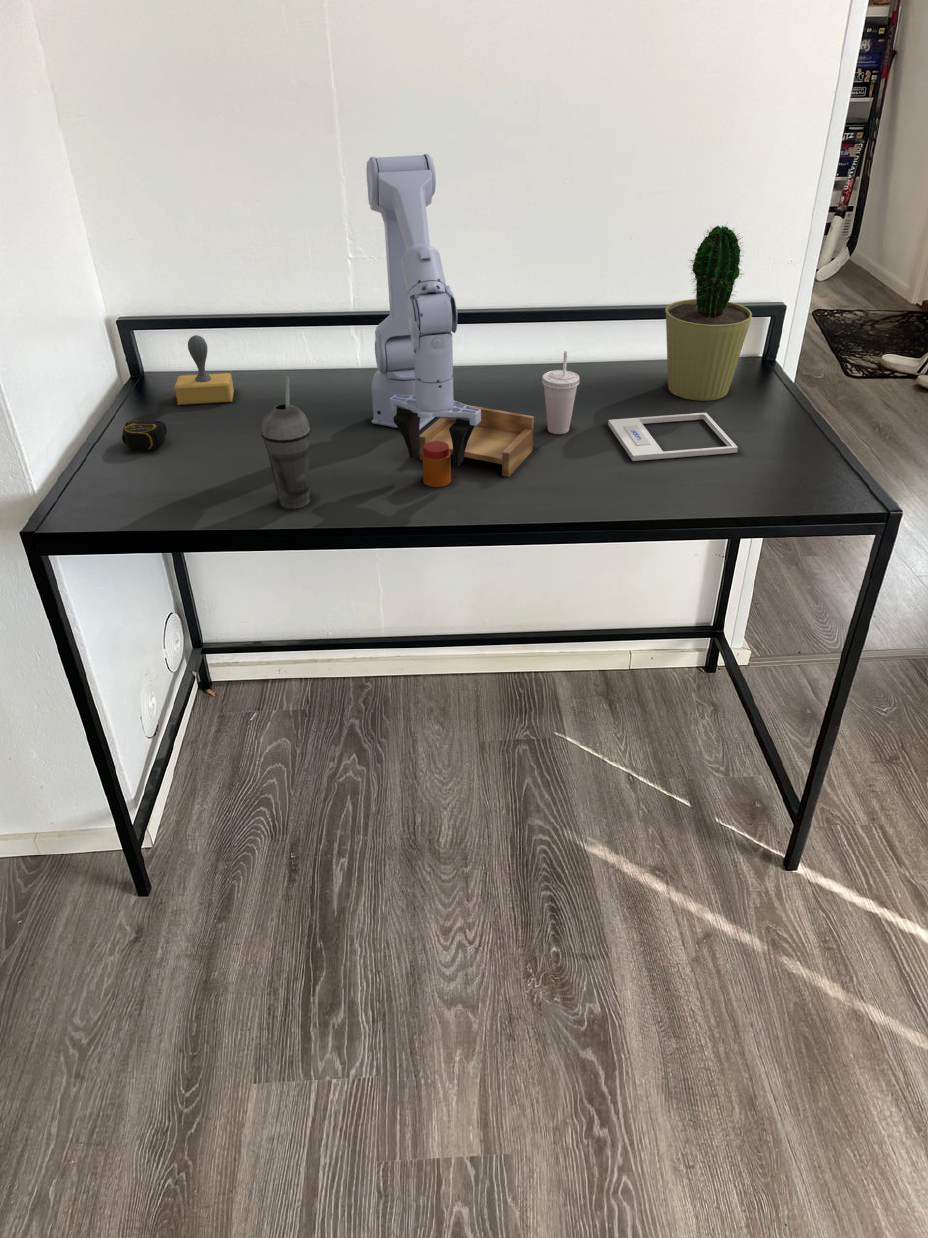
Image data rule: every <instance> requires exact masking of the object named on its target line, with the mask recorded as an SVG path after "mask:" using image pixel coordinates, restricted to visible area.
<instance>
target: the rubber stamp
mask: <svg viewBox="0 0 928 1238" xmlns="http://www.w3.org/2000/svg"><path fill="white" fill-rule="evenodd" d="M187 349H188V352H189V354H190V356H191V359H192V360H193V362H194V363H195V365H196V367H197V371H198V373H197V374H187V375H179V376H177V379H176V382H175V385H174V392H175V397H176V402H177V406H187V405H188V406H189V405H203V404H207V405H208V404H222V403H232V402H233V398H234V392H235V390H234V382H233V377H232V373H229V372H223V373H222V372H221V373H207V372H206V361H207V357H208V350H209V349H208V343H207V342H206V340H205V339H204V337H203V336H201V335H198V334H195V335H192V336H190V338H189V339H188V341H187Z"/></svg>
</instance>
